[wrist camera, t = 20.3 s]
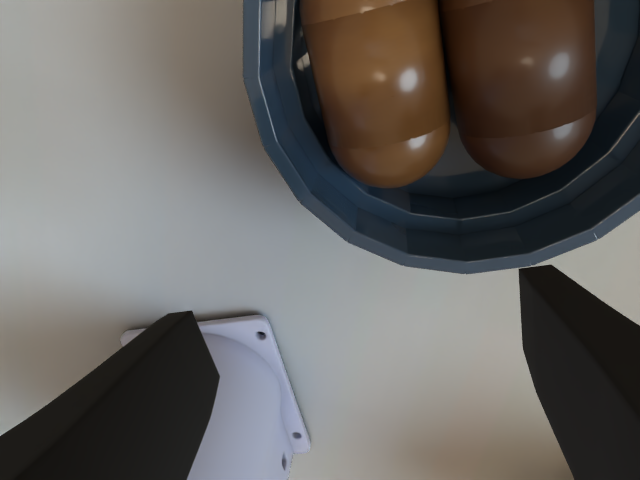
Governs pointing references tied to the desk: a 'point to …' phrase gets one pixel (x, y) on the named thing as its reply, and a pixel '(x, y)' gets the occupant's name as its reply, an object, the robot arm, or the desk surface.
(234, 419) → the robot arm
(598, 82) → the bowl
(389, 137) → the brown egg capsule
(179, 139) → the desk surface
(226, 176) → the desk surface
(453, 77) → the brown toy capsule
